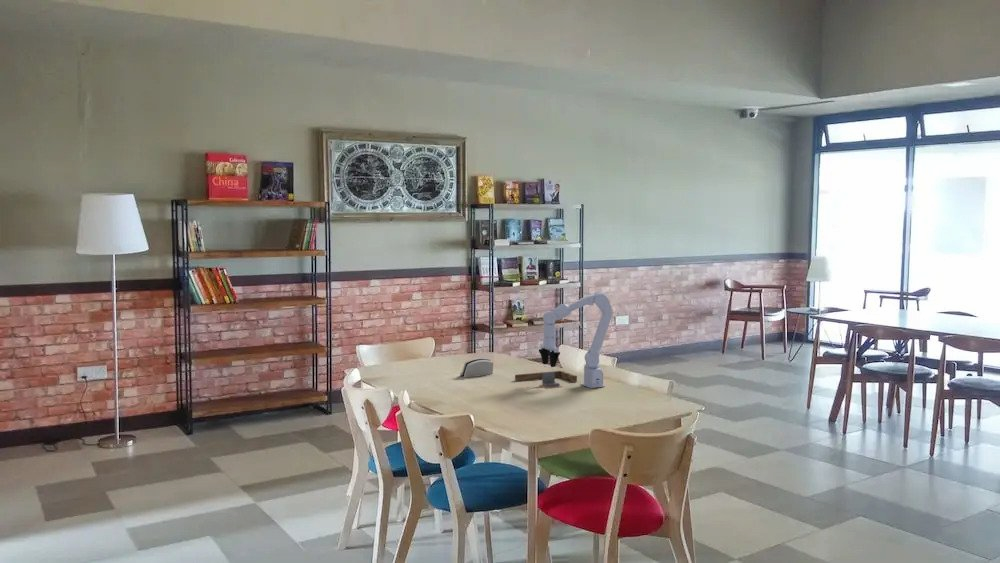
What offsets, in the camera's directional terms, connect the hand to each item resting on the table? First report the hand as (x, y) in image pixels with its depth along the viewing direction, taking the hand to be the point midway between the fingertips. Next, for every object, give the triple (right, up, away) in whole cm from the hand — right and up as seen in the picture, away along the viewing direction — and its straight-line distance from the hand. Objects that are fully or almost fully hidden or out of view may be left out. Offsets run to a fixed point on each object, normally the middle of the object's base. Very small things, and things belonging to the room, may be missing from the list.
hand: (549, 365), depth 387 cm
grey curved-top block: (-34, -8, +24) cm, 43 cm away
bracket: (+1, -9, -2) cm, 9 cm away
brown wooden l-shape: (-1, -9, +10) cm, 13 cm away
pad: (+1, -10, -1) cm, 10 cm away
